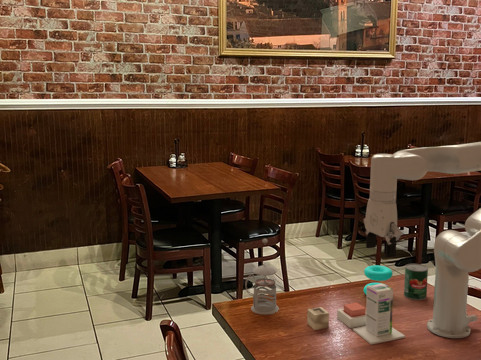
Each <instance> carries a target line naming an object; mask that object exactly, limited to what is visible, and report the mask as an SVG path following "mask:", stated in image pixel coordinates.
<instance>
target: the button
mask: <svg viewBox="0 0 481 360" xmlns="http://www.w3.org/2000/svg"><path fill="white" fill-rule="evenodd" d="M343 308H344V312H345V313H346V314H348V315H349V316H350V317H356V316H362V315H365V311H366V307H364V306H363V305H361V304H360V303H358V302H353V303H347V304H343Z"/></svg>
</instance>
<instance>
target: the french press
mask: <svg viewBox="0 0 481 360" xmlns="http://www.w3.org/2000/svg"><path fill="white" fill-rule="evenodd" d="M261 242H262V243H263V244H267V243H269V242H268V239H267V238H262V240H261ZM252 272H253V273H251V274H250V275H248V276H247V277H246V278H245V282H244V283H245V285H244V286H245V291H246V292H247V294H248V295H250V296H251V297H252V298H253V299H252V300H253V301H252V302H253V303H252V304H253V305H252V306H251V307H250V310H251V312H253V313H255V314H257V315H266V316H268V315H273V314H276V313H277V312H279V311H280V308H279V306H278V305H277V285H276V281H275V280H274V279H272V278H269V277H266V276H273V275H275V274H276V273H277V272H278V271H277V269H276V268H275V267H273V266H271V265H267V264H264V265H259V266H257V267H255V268H253V271H252ZM254 274H255V275H258V276H263V277H262V278H257V279H256V280H255V275H254ZM251 278H253V280H254V285H253V293H252V292H250V291H249V289H248V287H247V284H248V281H249V280H250V279H251ZM278 310H279V311H278ZM275 312H276V313H275Z"/></svg>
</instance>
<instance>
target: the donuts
mask: <svg viewBox="0 0 481 360" xmlns="http://www.w3.org/2000/svg"><path fill="white" fill-rule="evenodd" d="M363 272H364V276H365V277H366V278H367V279H369V280H372V281H376V282H370V283H367V284H366V285H365V286H364V288H363V293H364V294H365V295H366V296H367V286H372V285H377V284H381V282H384V281H385V282H386V281H388V280H390V279H391V278H392V276H393V271H392V269H391V268H389V267H387V266H385V265H379V264H378V265H377V264H376V265H375V264H374V265H368V266H367V267H365V268H364V271H363Z"/></svg>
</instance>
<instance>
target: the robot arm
mask: <svg viewBox="0 0 481 360" xmlns="http://www.w3.org/2000/svg"><path fill="white" fill-rule="evenodd" d="M370 160H371V161H370V181H369V198H368V200H367V205H366V210H365V218H363V224H364V230H365V235H366V241H365V242H366V243H365V244H366V245H365V248H367V249H372V248H373V249H374V248H376V247H377V236H378V237H381V238H385V240H386V244H385V255H384V257H385V258H394V257H396V254H397V244H398V242H399V241H400V238H401V236H402V231H401V230H400V228H399V227H398V210H397V209H398V208H397V188H398V186H397V183H398V180H406V181H418V180H420V179H422V178H424V177H425V175H426V174H427V172H435V173H436V172H437V173H443V174H451V175H452V174H454V175H455V174H456V175H457V174H458V175H459V174H465V173H472V172H474V173H475V172H479V171H480V172H481V141H478V142H476V141H475V142H470V143H460V144H453V145H441V146H429V147H428V146H426V147H418V148H417V147H415V148H410V149H401V150H398V151H396V152H394V153H393V154H389V153H376V154H373V155H372V156H371V159H370ZM464 230H465V231H466V234H468V235H469V236H470V237H469V236H468V235H466V234H465V233H463V232H460V231H458V230H453V229H448V230H444V231H442V232H440V233H439V234H438V235H437V236H436V237H435V239H434V243H433V252H434V253H433V254H434V263H435V276H434V291H433V292H434V293H433V309H432V318H430V319H429V320H428V321H427V323H426V324H427V325H426V327H427V329H428V331H430V332H431V333H433V334H434V335H437V336H440V337H443V338H448V339H463V338H466V337H468V336H470V334H471V327H470V326H469V324H471V323H472V322H477V321H478V316H477V315H476V314H471V315H468V313H467V307H468V305H467V303H468V290H469V278H470V276H469V274H470V273H473V272H476V271H479V270H481V207H480V208H479V209H478V210H476V211H475V212H473V213H472V214H471V215H470V216H469V217H468V218H467V219H466V221H465V223H464ZM470 322H471V323H470Z"/></svg>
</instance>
